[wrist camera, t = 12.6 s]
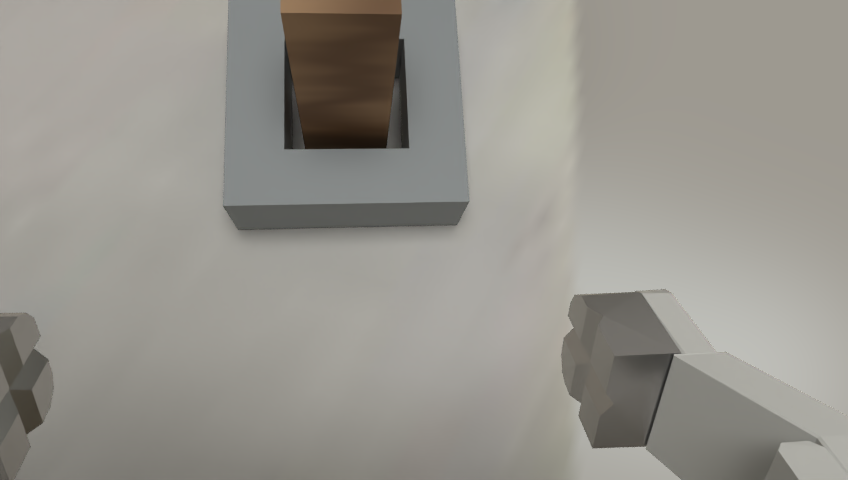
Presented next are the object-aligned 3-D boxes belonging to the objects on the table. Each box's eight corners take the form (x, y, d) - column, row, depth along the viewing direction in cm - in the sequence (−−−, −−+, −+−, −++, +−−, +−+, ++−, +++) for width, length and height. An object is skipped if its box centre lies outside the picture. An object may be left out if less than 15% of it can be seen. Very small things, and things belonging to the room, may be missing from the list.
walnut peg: (307, 162, 31) (280, 12, 20) (307, 92, 32) (280, -90, 21) (384, 161, 32) (402, 14, 20) (381, 92, 32) (396, -87, 21)
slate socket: (237, 229, 30) (223, 205, 27) (241, 32, 32) (228, -12, 29) (456, 224, 31) (469, 201, 28) (444, 34, 34) (454, -8, 30)
